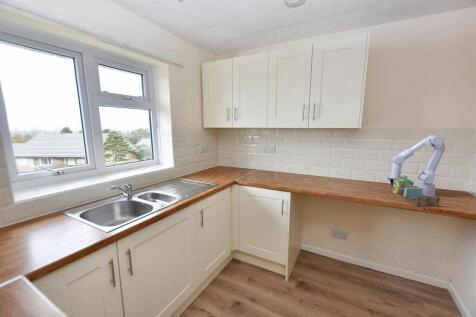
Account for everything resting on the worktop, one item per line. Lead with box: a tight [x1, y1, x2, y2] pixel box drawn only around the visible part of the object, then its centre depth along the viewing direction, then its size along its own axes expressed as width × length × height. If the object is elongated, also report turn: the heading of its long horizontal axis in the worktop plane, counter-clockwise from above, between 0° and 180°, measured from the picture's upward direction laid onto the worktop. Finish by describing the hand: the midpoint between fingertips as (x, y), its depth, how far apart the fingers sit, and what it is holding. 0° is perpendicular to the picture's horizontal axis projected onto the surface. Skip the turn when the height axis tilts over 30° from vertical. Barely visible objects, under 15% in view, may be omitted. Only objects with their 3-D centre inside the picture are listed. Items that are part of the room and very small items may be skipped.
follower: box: [404, 187, 423, 200], centre depth 142 cm, size 11×2×8 cm, turn 90°
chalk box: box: [391, 175, 414, 196], centre depth 151 cm, size 9×9×15 cm
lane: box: [394, 193, 441, 207], centre depth 140 cm, size 14×19×6 cm
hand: (393, 188), depth 160 cm, fingers closed
